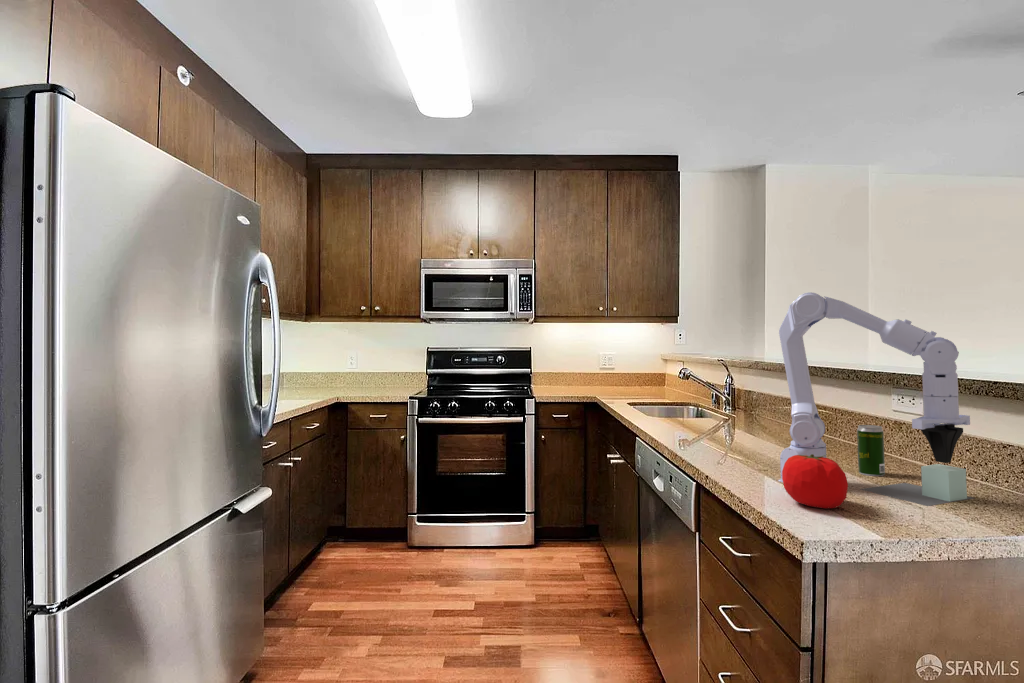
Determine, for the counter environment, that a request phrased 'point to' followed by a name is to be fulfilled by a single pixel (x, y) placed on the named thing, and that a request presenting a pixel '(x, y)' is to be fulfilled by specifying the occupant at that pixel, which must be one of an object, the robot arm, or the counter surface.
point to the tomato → (815, 481)
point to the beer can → (870, 450)
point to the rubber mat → (908, 494)
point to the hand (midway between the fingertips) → (943, 462)
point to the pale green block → (944, 482)
